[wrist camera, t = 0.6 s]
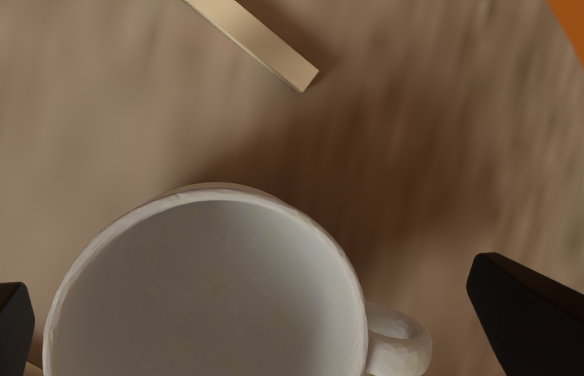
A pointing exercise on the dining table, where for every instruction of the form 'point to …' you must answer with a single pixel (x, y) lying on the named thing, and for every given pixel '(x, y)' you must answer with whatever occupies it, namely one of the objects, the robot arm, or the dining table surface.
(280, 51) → the frame
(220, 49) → the dining table surface
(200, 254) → the teacup
